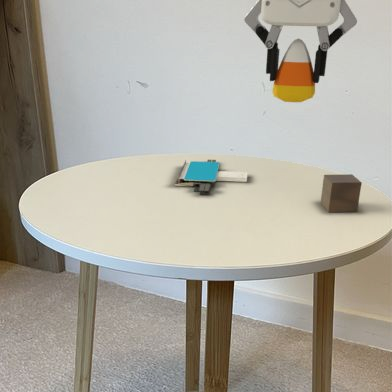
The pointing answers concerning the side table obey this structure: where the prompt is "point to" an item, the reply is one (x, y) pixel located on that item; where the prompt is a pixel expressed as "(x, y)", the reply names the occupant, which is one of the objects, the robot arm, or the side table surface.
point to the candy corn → (295, 75)
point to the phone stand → (205, 175)
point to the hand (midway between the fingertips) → (294, 79)
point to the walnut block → (340, 193)
